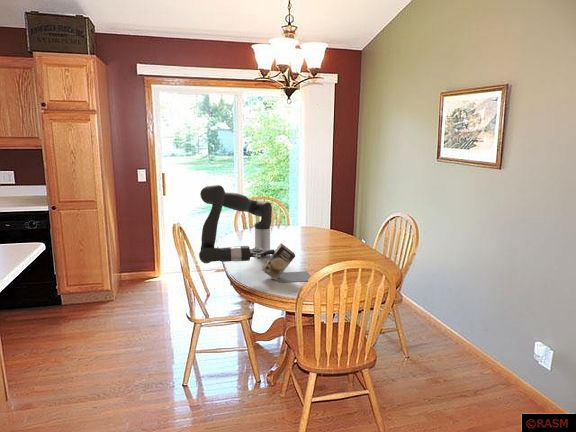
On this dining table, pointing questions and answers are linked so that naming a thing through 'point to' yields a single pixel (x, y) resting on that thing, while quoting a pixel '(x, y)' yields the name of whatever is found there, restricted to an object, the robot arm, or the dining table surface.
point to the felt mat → (293, 277)
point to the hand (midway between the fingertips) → (274, 251)
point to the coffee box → (278, 261)
